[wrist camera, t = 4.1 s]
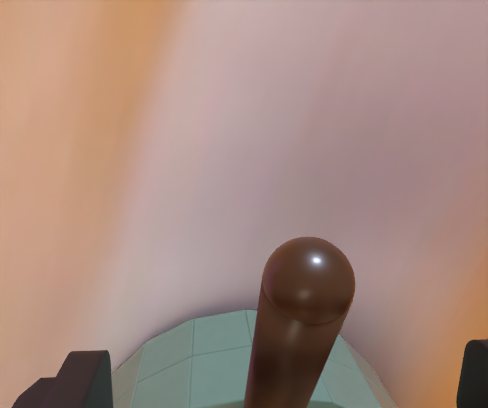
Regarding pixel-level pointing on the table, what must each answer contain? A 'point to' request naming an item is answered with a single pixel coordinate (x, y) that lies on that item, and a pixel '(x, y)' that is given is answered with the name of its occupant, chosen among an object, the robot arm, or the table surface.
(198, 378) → the bowl
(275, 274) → the spatula
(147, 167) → the table surface
